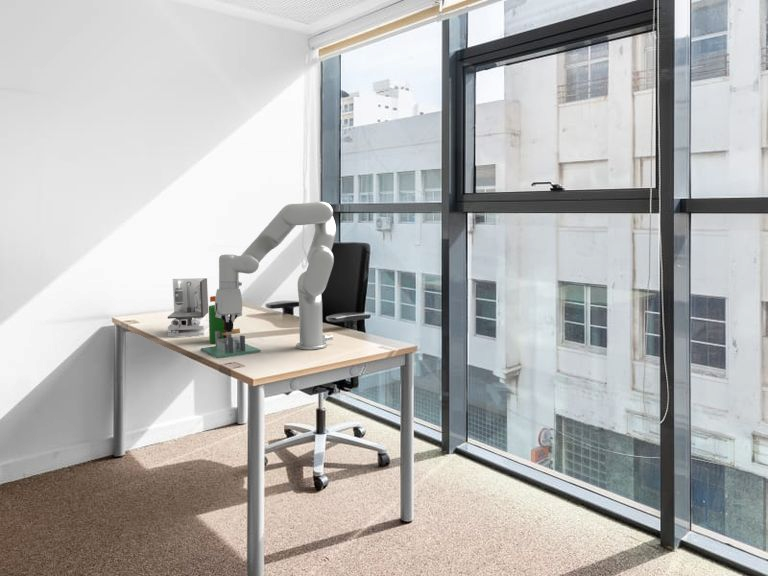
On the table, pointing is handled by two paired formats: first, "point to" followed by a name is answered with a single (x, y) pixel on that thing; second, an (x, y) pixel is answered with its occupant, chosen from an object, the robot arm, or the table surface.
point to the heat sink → (226, 342)
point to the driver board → (231, 349)
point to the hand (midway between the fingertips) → (228, 331)
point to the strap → (234, 331)
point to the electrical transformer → (189, 307)
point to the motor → (215, 323)
